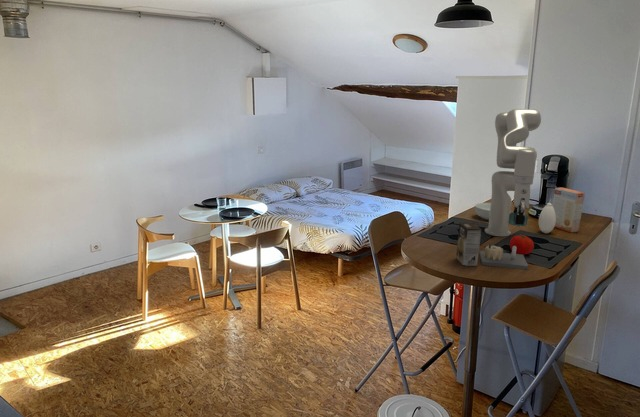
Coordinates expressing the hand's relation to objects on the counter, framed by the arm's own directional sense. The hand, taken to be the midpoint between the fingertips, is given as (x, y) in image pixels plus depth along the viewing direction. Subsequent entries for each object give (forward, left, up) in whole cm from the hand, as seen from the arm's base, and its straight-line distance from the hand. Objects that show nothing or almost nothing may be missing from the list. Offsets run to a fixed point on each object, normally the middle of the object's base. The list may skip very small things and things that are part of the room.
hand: (517, 221), depth 207 cm
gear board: (0, -4, -18) cm, 19 cm away
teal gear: (0, 0, -1) cm, 1 cm away
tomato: (-13, +5, -18) cm, 23 cm away
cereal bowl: (-70, -4, -18) cm, 72 cm away
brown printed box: (+5, -19, -18) cm, 27 cm away
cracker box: (-61, +33, -18) cm, 72 cm away
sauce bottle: (-50, +22, -18) cm, 58 cm away
